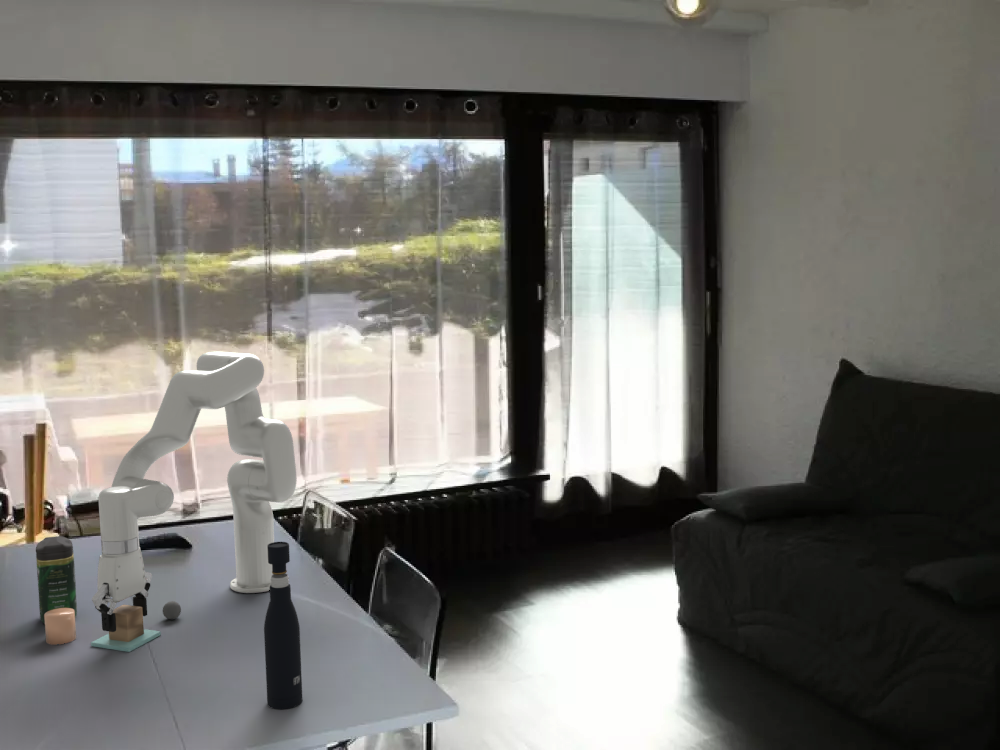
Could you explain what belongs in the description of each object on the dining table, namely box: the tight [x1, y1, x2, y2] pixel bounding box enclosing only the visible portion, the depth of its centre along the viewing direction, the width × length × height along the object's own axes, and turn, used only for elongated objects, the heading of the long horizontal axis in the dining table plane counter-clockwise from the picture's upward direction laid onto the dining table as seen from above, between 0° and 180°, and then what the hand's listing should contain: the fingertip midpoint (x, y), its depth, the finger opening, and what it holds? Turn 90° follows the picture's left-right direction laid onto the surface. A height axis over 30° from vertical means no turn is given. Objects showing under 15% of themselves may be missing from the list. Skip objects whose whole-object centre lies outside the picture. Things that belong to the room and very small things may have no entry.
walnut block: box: [108, 604, 145, 642], centre depth 226 cm, size 5×5×6 cm
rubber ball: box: [162, 600, 182, 620], centre depth 239 cm, size 4×4×4 cm
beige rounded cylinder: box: [44, 608, 77, 646], centre depth 228 cm, size 6×6×6 cm
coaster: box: [90, 628, 162, 653], centre depth 227 cm, size 10×10×1 cm
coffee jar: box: [35, 535, 78, 625], centre depth 240 cm, size 10×8×19 cm
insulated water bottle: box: [263, 541, 303, 710], centre depth 193 cm, size 6×6×30 cm
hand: (125, 622), depth 226 cm, fingers open, 9 cm apart
